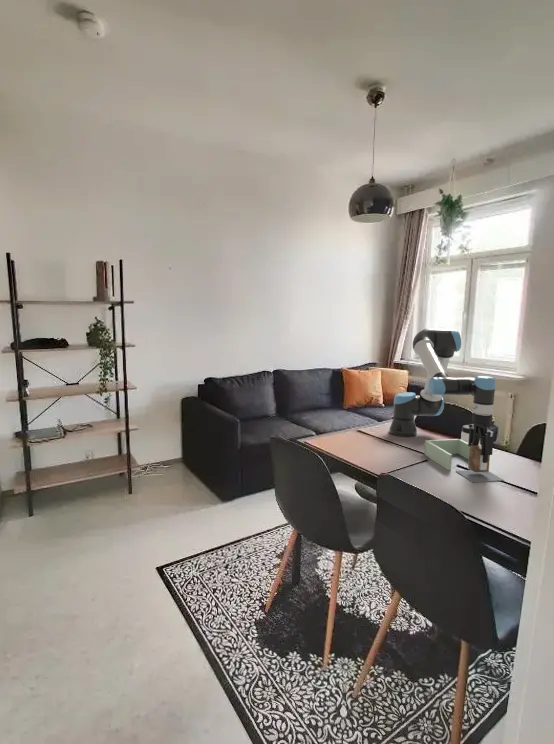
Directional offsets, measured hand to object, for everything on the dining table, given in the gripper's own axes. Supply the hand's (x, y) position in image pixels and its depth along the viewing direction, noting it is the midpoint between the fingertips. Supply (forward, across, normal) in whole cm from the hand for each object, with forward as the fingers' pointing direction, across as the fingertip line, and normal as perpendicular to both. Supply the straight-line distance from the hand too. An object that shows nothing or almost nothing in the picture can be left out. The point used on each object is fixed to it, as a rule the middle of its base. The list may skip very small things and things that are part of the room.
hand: (478, 467), depth 172 cm
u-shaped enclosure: (+4, -18, 0) cm, 18 cm away
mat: (+4, +1, 0) cm, 4 cm away
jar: (+4, -31, +17) cm, 36 cm away
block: (+1, 0, 0) cm, 1 cm away
